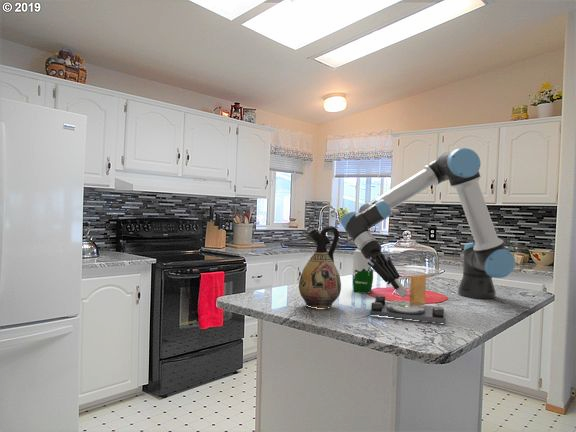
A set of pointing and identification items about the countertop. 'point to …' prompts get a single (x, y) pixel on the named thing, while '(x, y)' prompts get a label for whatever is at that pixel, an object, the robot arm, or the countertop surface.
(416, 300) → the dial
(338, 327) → the countertop surface
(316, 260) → the ceramic jug
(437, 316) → the tribrach plate
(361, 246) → the robot arm
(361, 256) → the milk carton
